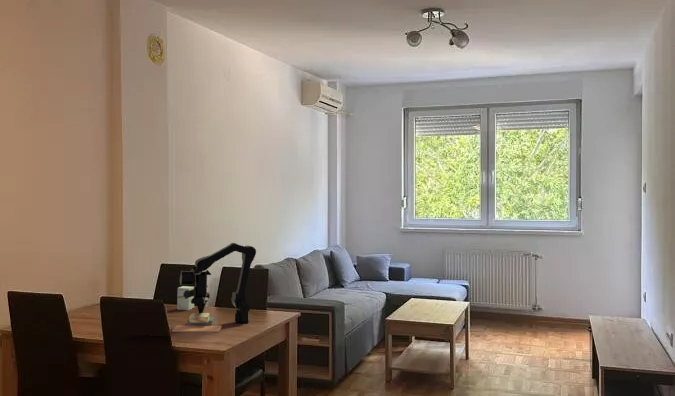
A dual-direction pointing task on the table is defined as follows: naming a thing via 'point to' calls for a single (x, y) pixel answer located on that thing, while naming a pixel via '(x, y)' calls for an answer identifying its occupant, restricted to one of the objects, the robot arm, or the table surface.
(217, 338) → the table surface
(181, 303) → the supplement box
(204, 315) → the birch block
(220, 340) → the table surface
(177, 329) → the mat
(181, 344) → the table surface
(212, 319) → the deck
